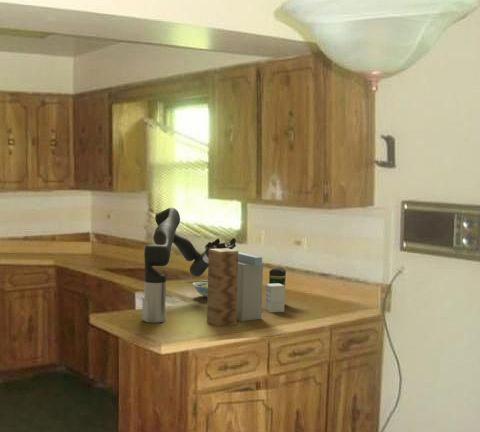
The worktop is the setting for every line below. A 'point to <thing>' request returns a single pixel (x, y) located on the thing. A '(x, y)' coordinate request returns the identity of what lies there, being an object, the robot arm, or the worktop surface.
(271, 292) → the supplement box
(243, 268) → the grey step
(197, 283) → the ramen bowl
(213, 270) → the walnut stand
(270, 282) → the coffee jar
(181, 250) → the robot arm
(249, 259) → the blue bar
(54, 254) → the worktop surface
